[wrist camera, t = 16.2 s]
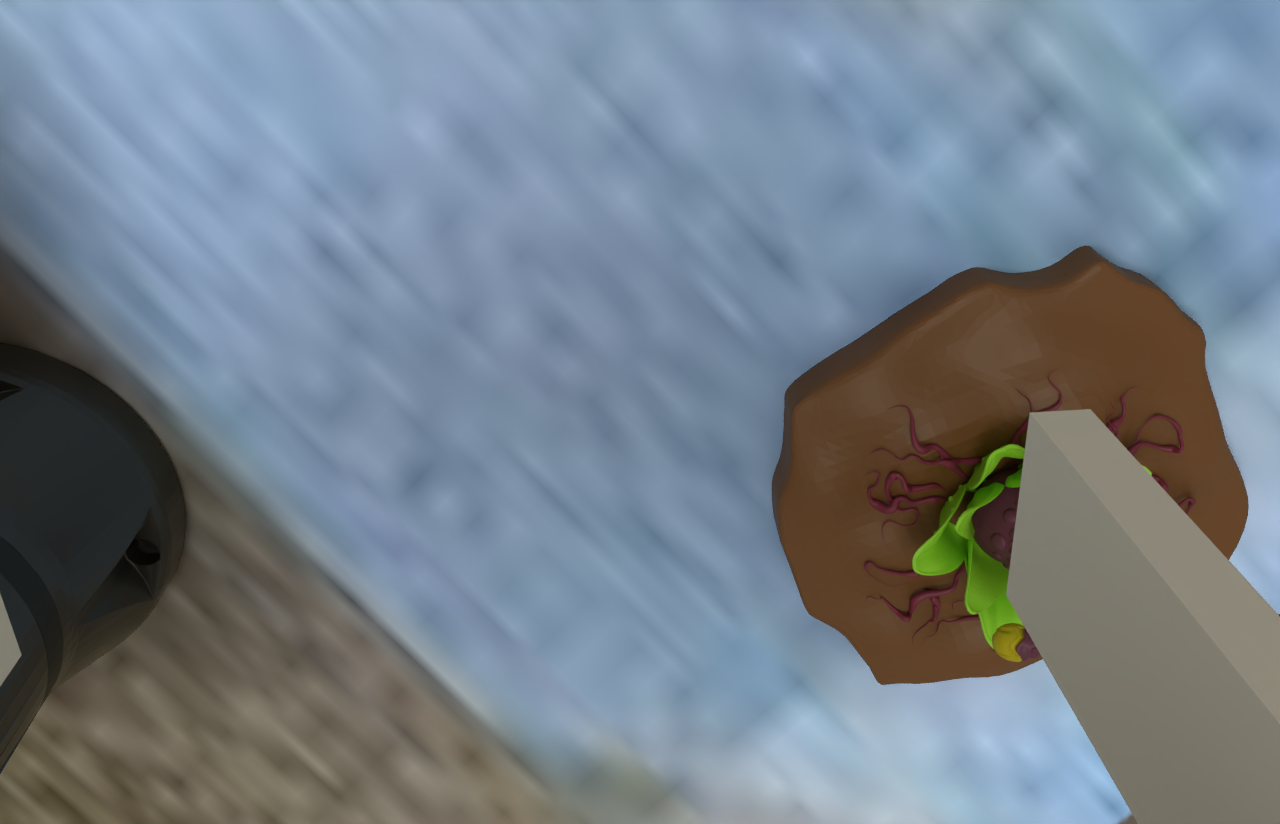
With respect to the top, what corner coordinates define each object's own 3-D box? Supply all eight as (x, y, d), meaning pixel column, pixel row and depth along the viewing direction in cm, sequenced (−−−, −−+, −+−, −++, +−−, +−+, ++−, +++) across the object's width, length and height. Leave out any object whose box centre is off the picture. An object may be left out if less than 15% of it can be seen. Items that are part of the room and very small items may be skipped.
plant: (700, 379, 49) (727, 518, 39) (1150, 186, 46) (1306, 283, 36) (859, 708, 57) (915, 892, 47) (1248, 563, 54) (1398, 728, 44)
